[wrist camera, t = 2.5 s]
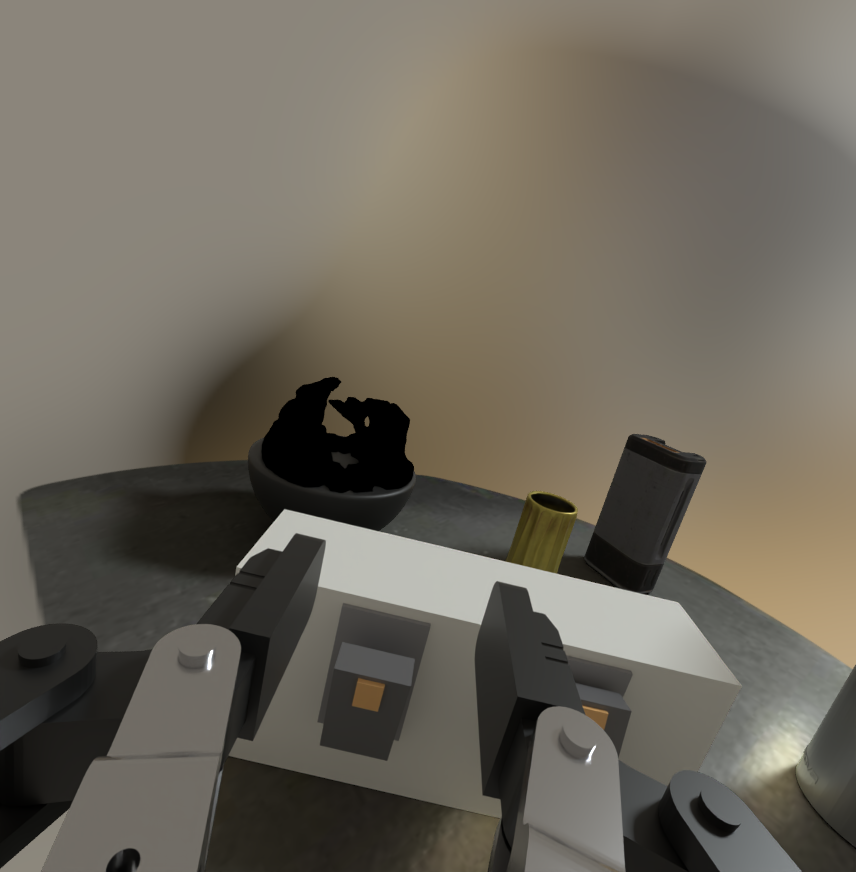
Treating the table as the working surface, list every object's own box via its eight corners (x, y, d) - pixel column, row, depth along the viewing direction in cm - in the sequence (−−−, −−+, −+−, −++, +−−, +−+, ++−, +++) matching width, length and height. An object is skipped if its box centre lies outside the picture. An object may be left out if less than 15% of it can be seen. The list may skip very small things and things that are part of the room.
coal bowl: (398, 593, 52) (438, 432, 47) (211, 561, 50) (232, 388, 44) (399, 512, 71) (428, 391, 66) (264, 486, 69) (283, 359, 64)
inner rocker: (521, 790, 27) (551, 677, 27) (588, 805, 28) (619, 693, 27) (528, 817, 26) (560, 697, 25) (599, 834, 26) (633, 714, 25)
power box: (259, 662, 39) (284, 509, 35) (615, 745, 39) (678, 602, 35) (208, 755, 31) (234, 569, 27) (657, 859, 31) (744, 690, 27)
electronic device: (656, 593, 65) (713, 460, 60) (628, 597, 63) (685, 458, 57) (606, 556, 73) (652, 435, 68) (578, 558, 70) (624, 432, 65)
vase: (552, 626, 53) (593, 511, 49) (518, 643, 48) (560, 519, 45) (511, 594, 57) (546, 486, 53) (476, 607, 53) (512, 491, 49)
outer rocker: (327, 718, 29) (342, 642, 25) (391, 732, 29) (414, 658, 25) (318, 749, 27) (332, 672, 24) (386, 765, 27) (410, 690, 24)
